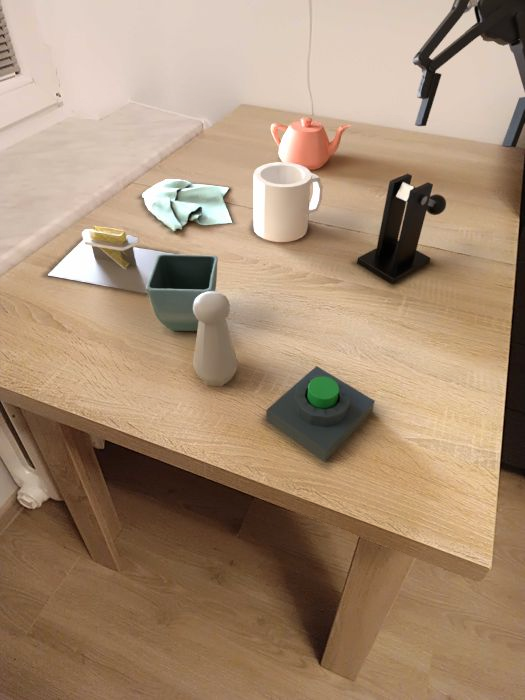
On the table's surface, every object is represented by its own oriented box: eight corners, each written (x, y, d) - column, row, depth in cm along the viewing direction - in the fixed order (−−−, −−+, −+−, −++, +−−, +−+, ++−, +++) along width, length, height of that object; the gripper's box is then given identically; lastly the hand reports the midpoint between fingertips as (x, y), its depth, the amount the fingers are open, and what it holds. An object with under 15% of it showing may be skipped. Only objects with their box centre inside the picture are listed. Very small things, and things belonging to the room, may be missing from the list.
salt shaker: (207, 398, 64) (200, 321, 55) (187, 371, 68) (176, 294, 59) (246, 379, 67) (244, 303, 58) (224, 354, 70) (219, 278, 61)
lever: (426, 212, 88) (436, 193, 87) (442, 219, 86) (453, 200, 85) (390, 198, 79) (401, 177, 77) (408, 206, 77) (419, 185, 75)
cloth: (164, 176, 111) (163, 166, 109) (256, 193, 106) (256, 182, 104) (114, 219, 97) (111, 208, 95) (217, 241, 92) (216, 229, 90)
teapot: (275, 147, 123) (277, 106, 117) (348, 155, 121) (354, 113, 114) (264, 167, 115) (264, 124, 108) (342, 176, 112) (347, 133, 105)
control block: (315, 377, 67) (317, 355, 64) (372, 412, 63) (377, 390, 60) (266, 420, 62) (266, 399, 59) (324, 462, 57) (328, 441, 55)
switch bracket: (393, 244, 92) (411, 165, 81) (429, 263, 87) (452, 182, 77) (356, 263, 87) (369, 182, 77) (392, 284, 82) (411, 201, 72)
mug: (300, 205, 102) (303, 153, 95) (331, 227, 96) (338, 173, 88) (243, 223, 96) (242, 170, 89) (273, 247, 90) (275, 192, 83)
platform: (146, 293, 80) (139, 258, 76) (47, 275, 83) (35, 240, 79) (175, 254, 88) (170, 220, 84) (84, 238, 92) (75, 205, 87)
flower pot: (165, 301, 79) (157, 252, 72) (220, 303, 78) (218, 254, 72) (154, 339, 72) (144, 289, 66) (214, 341, 72) (211, 291, 66)
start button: (319, 381, 62) (320, 371, 60) (343, 396, 60) (345, 386, 59) (301, 398, 60) (302, 388, 58) (325, 413, 58) (327, 404, 57)
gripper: (593, -8, 69) (530, 154, 77) (422, -57, 66) (375, 117, 74) (632, -25, 62) (559, 156, 70) (443, -80, 59) (389, 115, 67)
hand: (464, 136), depth 72 cm, fingers open, 13 cm apart
